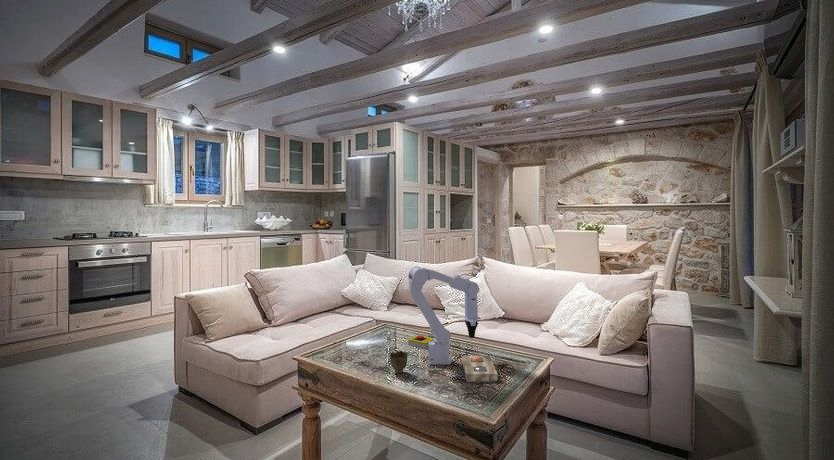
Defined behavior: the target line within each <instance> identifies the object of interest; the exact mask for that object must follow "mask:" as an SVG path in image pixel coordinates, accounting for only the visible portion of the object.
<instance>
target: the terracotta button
mask: <svg viewBox="0 0 834 460" xmlns="http://www.w3.org/2000/svg"><path fill="white" fill-rule="evenodd" d="M472 356H473V357H472V362H482V357H481V356H482V355H472Z"/></svg>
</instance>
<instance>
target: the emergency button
mask: <svg viewBox="0 0 834 460" xmlns="http://www.w3.org/2000/svg"><path fill="white" fill-rule="evenodd" d="M433 339H434V337H431V336H430V337H428V336H425V335H420V334H419V335H417V334H416V335H415V336H413V337H410V338H408V339H407V343H408V345H407V346H410V345H412V346H411V347H416V348H420V349H424V350H429V342H432V341H433Z"/></svg>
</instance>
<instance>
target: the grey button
mask: <svg viewBox="0 0 834 460" xmlns="http://www.w3.org/2000/svg"><path fill="white" fill-rule="evenodd" d="M475 372H486V368H485V367H484V366H476V367H475Z"/></svg>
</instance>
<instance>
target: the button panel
mask: <svg viewBox="0 0 834 460" xmlns="http://www.w3.org/2000/svg"><path fill="white" fill-rule="evenodd" d="M473 356H474V355H462V356H461V363H462V367H463V373H464V376H465V377H464V378H465V380H466V382H467V383H470V382H471V383H472V382H475V383H477V382H478V383H479V382H480V383H481V382H483V383H484V382H485V383H486V382H498V381H499V380H498V371H497V370H496V368H495V365H494V363H493V361H492V359H491V356H490V355H480V356H481V357H482V362H472V357H473ZM476 366H484V367H485V368H486V372H475V367H476Z"/></svg>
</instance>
